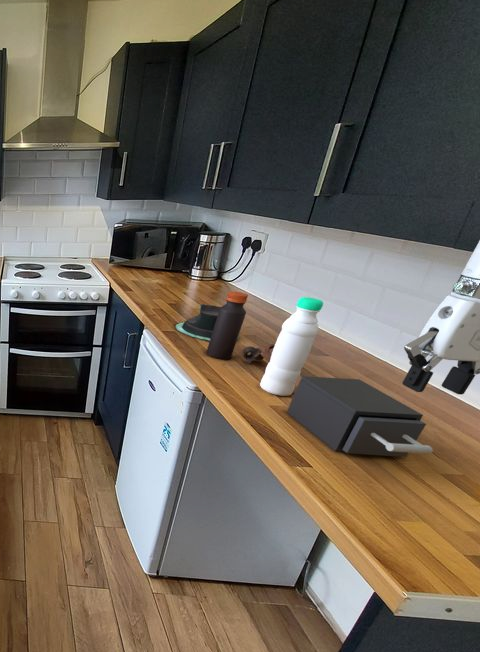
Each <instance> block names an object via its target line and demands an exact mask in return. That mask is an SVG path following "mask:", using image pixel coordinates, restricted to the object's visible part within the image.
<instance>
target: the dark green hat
mask: <svg viewBox="0 0 480 652" xmlns="http://www.w3.org/2000/svg"><path fill="white" fill-rule="evenodd" d="M221 307H222V306H217V305H212V304H205V303H201V304H199V314H198V315H195V316H193V317H190V318H188V319H186V320H185V321H184V322H179V323H177V324H176V325H175V328H176V330H177V331H178V332H179V333H183V334H184V335H187V336H189V337H191V338H192V337H193V338H196V339H198V340H199V339H200V340H205V341H210V339H211V335H212V332H213V329H214V326H215V322H216V319H217V316H218V313H219V310H220V308H221ZM239 338H240V335H238V338H237V340H238V339H239Z"/></svg>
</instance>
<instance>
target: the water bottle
mask: <svg viewBox="0 0 480 652" xmlns="http://www.w3.org/2000/svg"><path fill="white" fill-rule="evenodd" d="M323 306H324V301H323V300H321V299H320V298H319V299H318V298H315V297H309V296H302V297H299V299H298V300H297V302H296V311H295V312H294V313H292V314H291V315H290V317H288V318H287V319H285V321H284V322H283V324H282V326H281V330H280V332H279V335H278V336H277V339H276V341H275V344H274V345H275V346H274V349H272V352H271V354H272V355H271V359H270V362H267V365H266V366H265V371H264V374H263V376H262V378H261V380H260V383H259V386H260V388H261V389H262V390H263V391H265V392H267V393H268V394H271V395H274V396H279V397H288V396H291V395H292V394H293V393H294V390H295V387H296V384H297V381H298V380H299V378H300V376H301V372H302V369H303V367H304V365H305V363H306V361H307V359H308V357H309V354H310V352H311V350H312V348H313V344H314V341H315V337H317V335H318V334H319V331H320V329H319V324H318V322H319V321H318V318H317V315H318V313H320V311H321V310H322V308H323Z"/></svg>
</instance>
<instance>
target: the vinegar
mask: <svg viewBox="0 0 480 652" xmlns="http://www.w3.org/2000/svg"><path fill="white" fill-rule="evenodd" d="M248 297H249V295H248V294H247V293H245V292H241V291H228V293H227V296H226V303H225V304H223V305H222V306H220V307H221V308H220V310H219V313H218V316H217V319H216V322H215V326H214V329H213V332H212V335H211V339H210V340H209V343H208V345H207V349H206V354H207V355H208V356H209V357H211V358H215V359H217V360H226V361H227V360H229V359H231V358H232V355H233V354H234V351H235V347H236V344H237V342H238V339H239V338H238V336H240V332H241V330H242V326H243V323H244V321H245V318H246V315H247V311H246V309H245V308H244V305H245V304H246V303H247V299H248ZM237 338H238V339H237Z"/></svg>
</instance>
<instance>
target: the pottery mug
mask: <svg viewBox="0 0 480 652" xmlns="http://www.w3.org/2000/svg"><path fill="white" fill-rule="evenodd" d="M274 346H275V344H274V343H269V344H268V345H261V346H258V347H254V346H246V347H243V349H242V350H241V355H242V358H243V359H244V360H245V363H247V364H248V365H249V364H250V365H251V364H252V363H253V361H254V360H255V361H257V362H260V363H261V362H262V361H263V360H265V361H267V363H269V362H270V359H271V355H272V352H271V351H270V350H273V349H274Z"/></svg>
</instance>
